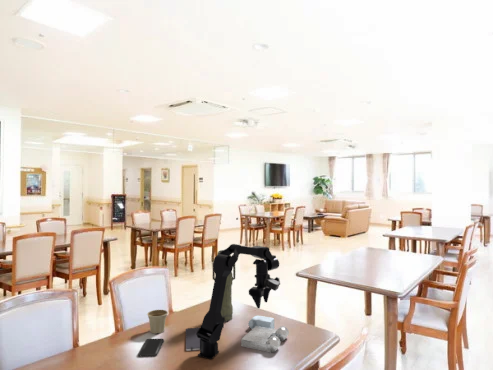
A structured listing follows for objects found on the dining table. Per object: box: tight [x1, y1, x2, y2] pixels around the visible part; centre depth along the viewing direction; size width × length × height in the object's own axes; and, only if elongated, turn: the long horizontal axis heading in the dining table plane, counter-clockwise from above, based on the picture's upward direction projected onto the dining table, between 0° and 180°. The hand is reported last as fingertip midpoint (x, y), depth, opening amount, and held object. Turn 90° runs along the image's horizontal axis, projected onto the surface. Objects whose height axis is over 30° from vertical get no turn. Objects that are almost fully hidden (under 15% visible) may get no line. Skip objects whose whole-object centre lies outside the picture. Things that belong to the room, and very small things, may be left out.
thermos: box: [212, 249, 236, 323], centre depth 177 cm, size 9×12×35 cm
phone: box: [137, 338, 165, 358], centre depth 144 cm, size 8×1×15 cm
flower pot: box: [146, 309, 169, 334], centre depth 161 cm, size 9×9×9 cm
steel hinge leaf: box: [240, 325, 290, 353], centre depth 149 cm, size 16×16×5 cm
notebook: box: [185, 326, 211, 352], centre depth 153 cm, size 13×2×21 cm
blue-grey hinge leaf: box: [248, 315, 275, 330], centre depth 164 cm, size 11×6×5 cm, turn 65°
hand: (262, 305), depth 164 cm, fingers open, 9 cm apart
